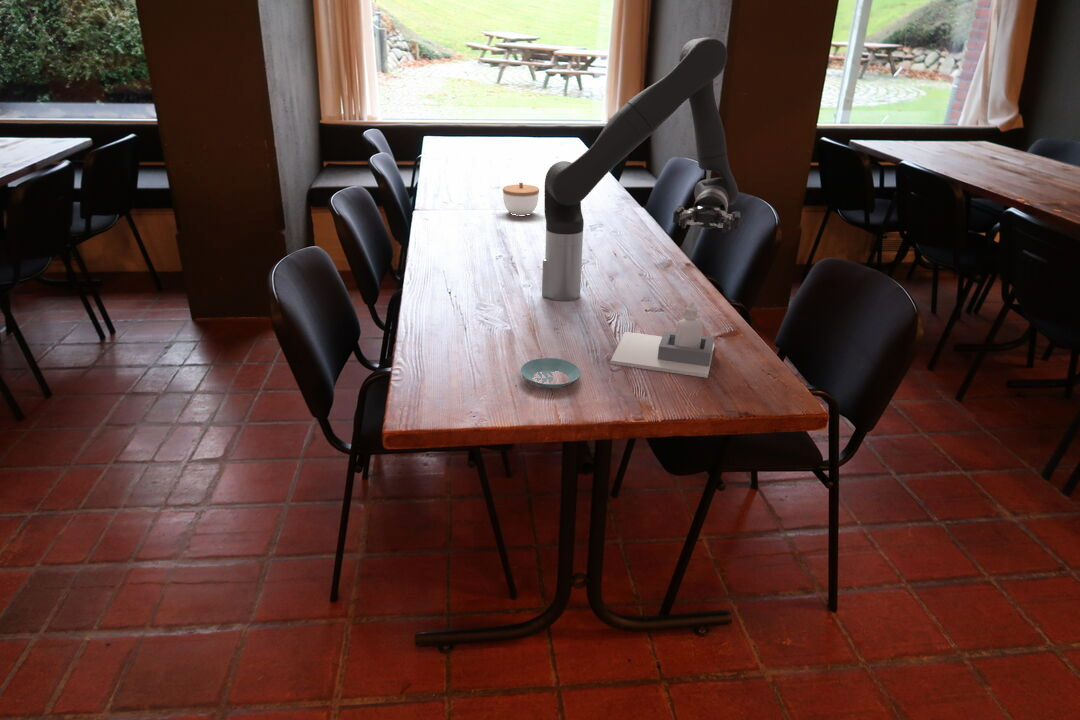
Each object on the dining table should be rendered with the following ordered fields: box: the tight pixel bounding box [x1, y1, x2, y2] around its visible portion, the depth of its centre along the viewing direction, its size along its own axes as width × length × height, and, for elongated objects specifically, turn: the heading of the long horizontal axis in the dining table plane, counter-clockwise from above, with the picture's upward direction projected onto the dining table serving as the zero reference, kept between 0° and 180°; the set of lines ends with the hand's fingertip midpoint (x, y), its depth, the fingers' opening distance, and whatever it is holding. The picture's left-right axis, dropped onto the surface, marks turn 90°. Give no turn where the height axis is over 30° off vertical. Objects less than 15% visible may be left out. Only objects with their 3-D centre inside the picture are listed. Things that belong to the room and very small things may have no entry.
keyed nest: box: [610, 330, 715, 379], centre depth 161 cm, size 20×16×4 cm
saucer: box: [520, 357, 581, 389], centre depth 150 cm, size 12×12×2 cm
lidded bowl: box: [502, 182, 540, 215], centre depth 264 cm, size 13×13×11 cm
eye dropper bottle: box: [674, 301, 704, 349], centre depth 157 cm, size 4×6×12 cm
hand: (703, 225), depth 159 cm, fingers open, 8 cm apart
